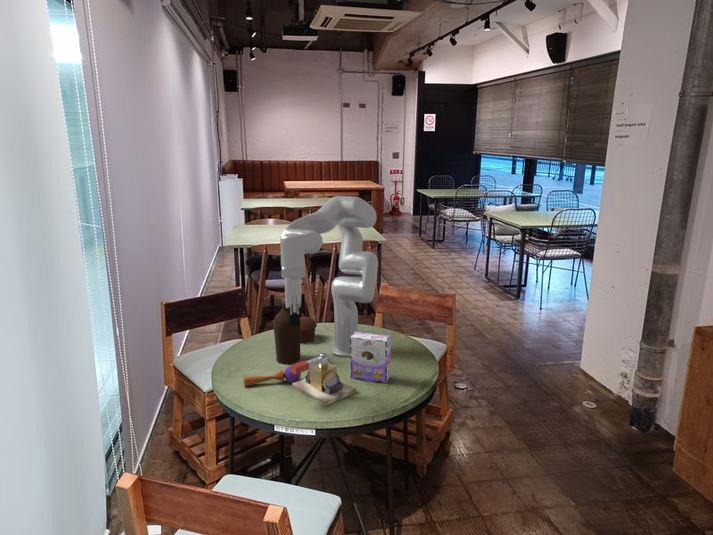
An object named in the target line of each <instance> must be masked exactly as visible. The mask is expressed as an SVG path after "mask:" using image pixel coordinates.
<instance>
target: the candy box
mask: <svg viewBox="0 0 713 535" xmlns="http://www.w3.org/2000/svg"><path fill="white" fill-rule="evenodd" d="M349 357H350V379H352V378H353V379H354V380H360V381H366V382H368V381H369V382H374V383H381V384H387V383H388V381H389V380H390V378H391V335H385V334H378V333H377V334H376V333H369V332H361V331H358V332H354V334H353V335H352V336H351V337H350V356H349Z"/></svg>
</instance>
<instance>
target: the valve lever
mask: <svg viewBox="0 0 713 535" xmlns="http://www.w3.org/2000/svg"><path fill="white" fill-rule="evenodd" d="M328 357H329V356H328V355H327V353H326V352H321V353H319V355H318V356H316V357H313V358H311V359H308V360H302V361H298V362H296V363H293V364H290V365H289V366H290V372H292V373H294V374H295V375H296V374H298V373H301V374H302V373H303V372H306V371H309V369H310V367H312V366H315V365H318V364H319V367H320V368H326V367H328V363H329V358H328Z"/></svg>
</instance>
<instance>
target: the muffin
mask: <svg viewBox="0 0 713 535" xmlns="http://www.w3.org/2000/svg"><path fill="white" fill-rule="evenodd" d="M300 322H301V331H300V344H302V345H303V344H304V345H305V344H310V343H312V342H313V341H315V334H316V328H317V325H318V324H317V322H316V321H315V319H313V318H311V316H310V317H309V316H300Z"/></svg>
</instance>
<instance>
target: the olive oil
mask: <svg viewBox="0 0 713 535" xmlns="http://www.w3.org/2000/svg"><path fill="white" fill-rule="evenodd" d="M272 327H273V334H274V335H273V336H274V344H275V357H276V362H278V363H279V364H281V363H282V365H293V364H296V363H299V362H300V360H301V343H300V331H301V322H300V325H299V326H290V307H288V308H286V301H285V298H282V299H281V310H279V311H278V313H277V314H276V315H275V316H274V319H273V323H272ZM295 362H296V363H295ZM292 363H293V364H292Z"/></svg>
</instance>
